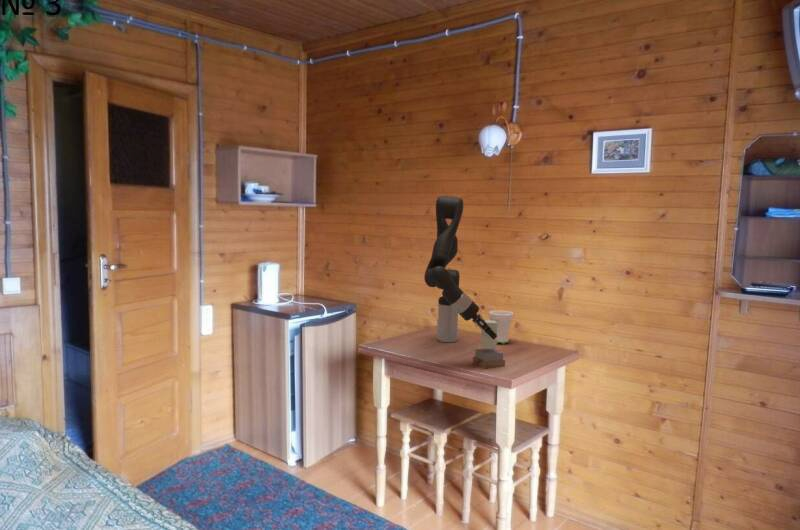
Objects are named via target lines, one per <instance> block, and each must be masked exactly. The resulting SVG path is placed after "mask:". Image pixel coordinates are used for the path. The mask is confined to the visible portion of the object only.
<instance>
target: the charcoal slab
mask: <svg viewBox="0 0 800 530" xmlns="http://www.w3.org/2000/svg"><path fill="white" fill-rule="evenodd" d="M474 353H475V355H474V357H477V358H479V359H480V360H482V361H484V362H490V361H500V360H503V359H504V352H503V351H500V350H498V349H497V348H476V349H475V350H474Z"/></svg>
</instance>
